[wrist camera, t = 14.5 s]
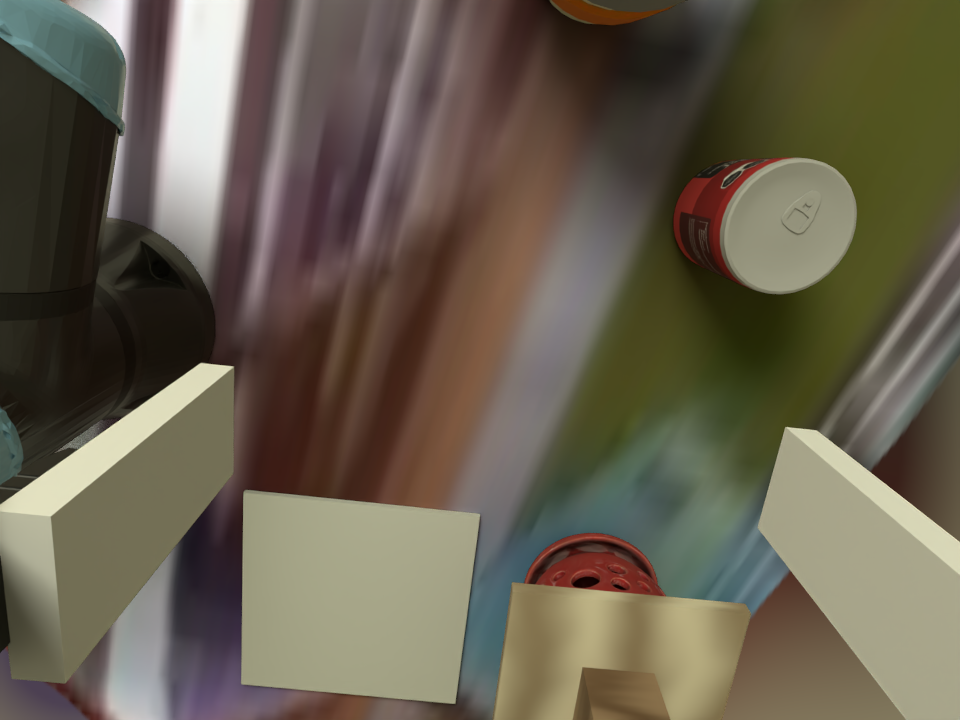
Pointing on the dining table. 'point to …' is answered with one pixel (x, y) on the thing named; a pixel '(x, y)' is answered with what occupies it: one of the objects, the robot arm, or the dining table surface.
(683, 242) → the canned food
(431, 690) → the mat
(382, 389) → the dining table surface
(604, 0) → the reusable coffee cup
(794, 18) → the dining table surface
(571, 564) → the plant pot
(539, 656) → the lid
